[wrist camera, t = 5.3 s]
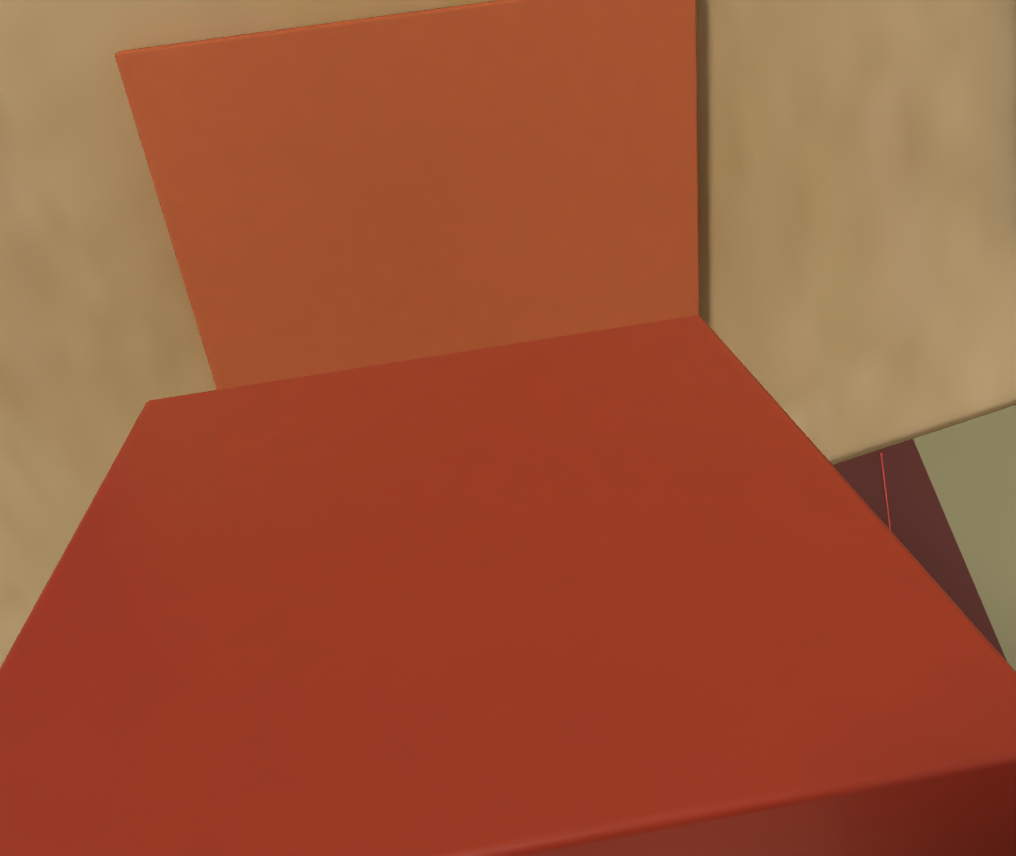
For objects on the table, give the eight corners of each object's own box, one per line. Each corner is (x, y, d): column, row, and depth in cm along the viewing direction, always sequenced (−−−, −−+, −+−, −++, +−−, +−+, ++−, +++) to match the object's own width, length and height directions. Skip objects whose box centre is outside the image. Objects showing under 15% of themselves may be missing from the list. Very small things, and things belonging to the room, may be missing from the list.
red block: (704, 708, 10) (938, 1255, 6) (281, 783, 10) (200, 1416, 6) (700, 311, 8) (1086, 742, 4) (145, 399, 8) (-177, 977, 3)
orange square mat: (695, 456, 18) (701, 466, 18) (264, 527, 18) (262, 538, 17) (689, -26, 14) (696, -26, 14) (120, 51, 13) (113, 53, 13)
